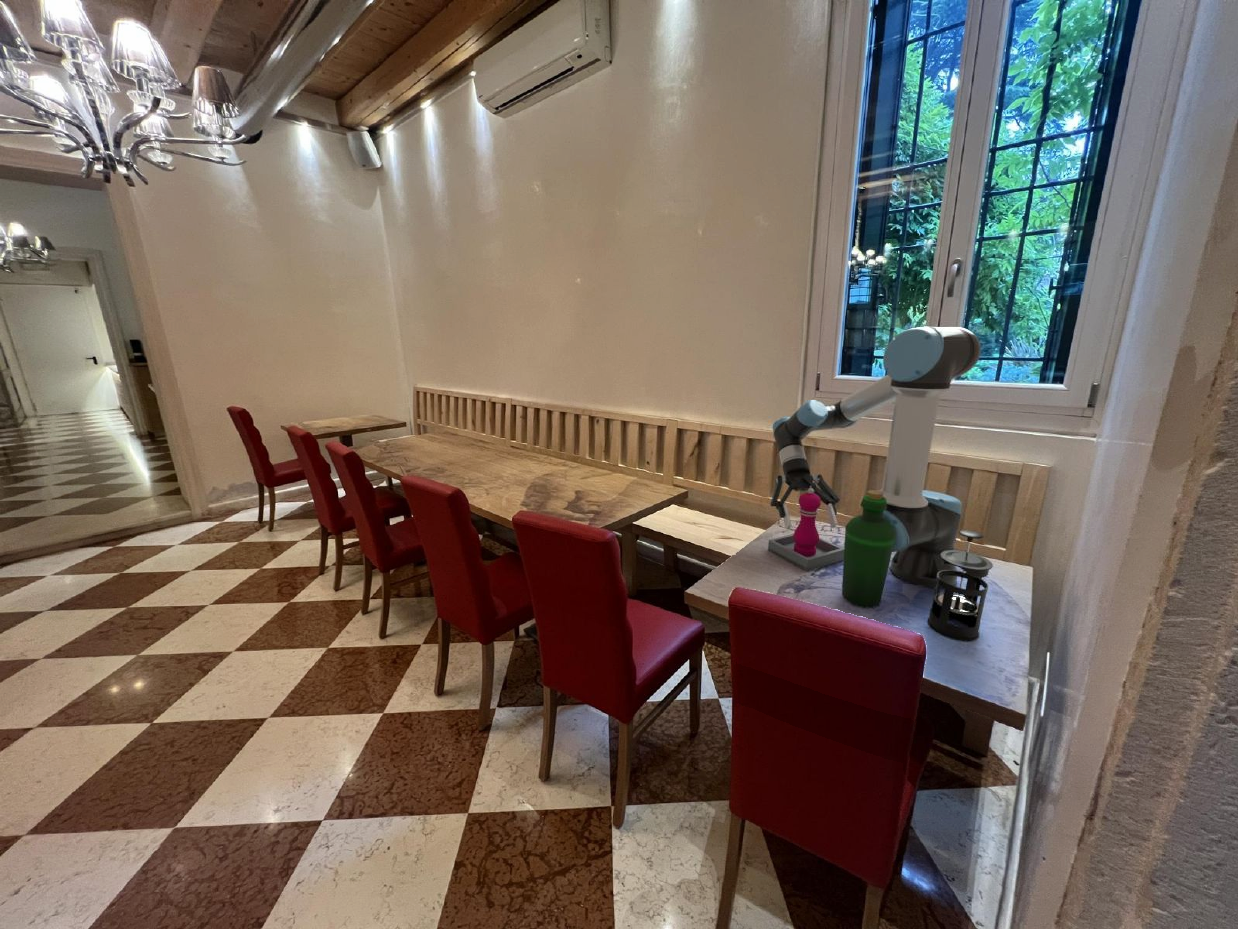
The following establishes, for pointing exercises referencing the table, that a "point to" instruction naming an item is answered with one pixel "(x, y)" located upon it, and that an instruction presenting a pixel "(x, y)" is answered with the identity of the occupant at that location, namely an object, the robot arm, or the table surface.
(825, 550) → the tray
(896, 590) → the table surface
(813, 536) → the pepper mill
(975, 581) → the french press
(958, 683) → the table surface
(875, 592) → the bottle
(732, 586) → the table surface
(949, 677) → the table surface
